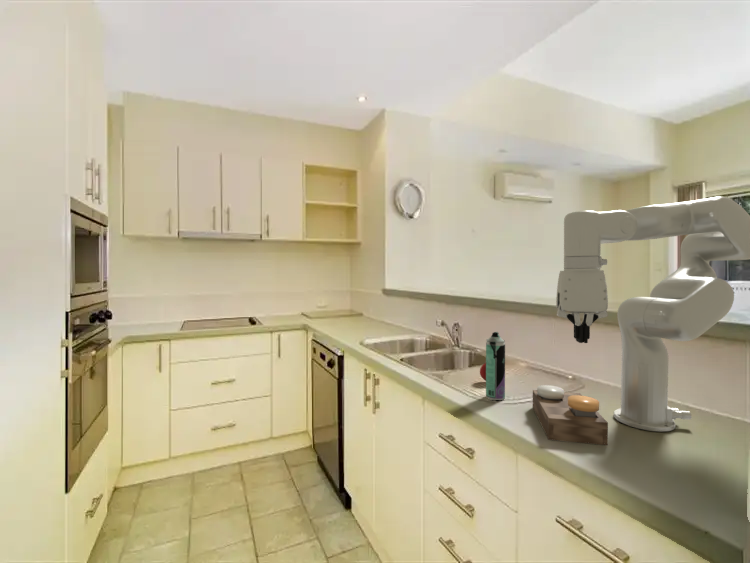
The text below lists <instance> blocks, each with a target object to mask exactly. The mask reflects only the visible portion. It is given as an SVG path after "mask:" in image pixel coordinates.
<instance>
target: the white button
mask: <svg viewBox="0 0 750 563" xmlns="http://www.w3.org/2000/svg"><path fill="white" fill-rule="evenodd" d="M536 390H537V394H538V395H539V396H541V398H542V400H556V401H561V399H562V398H564V392H565V390H564V389H563V388H562V387H560V386H556V385H551V384H549V385H548V384H541V385H537V387H536Z"/></svg>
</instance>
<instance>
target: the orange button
mask: <svg viewBox="0 0 750 563" xmlns="http://www.w3.org/2000/svg"><path fill="white" fill-rule="evenodd" d="M568 406H569V407H571V412H572V413H573V415H574V416H580V417H593V418H596V411H597V412H598V411H599V410H600V401H599V400H598V399H596V398H593V397H591V396H586V395H582V396H580V395H573V396H569V397H568Z"/></svg>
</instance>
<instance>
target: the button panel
mask: <svg viewBox="0 0 750 563" xmlns="http://www.w3.org/2000/svg"><path fill="white" fill-rule="evenodd" d="M573 395H580V396H583V395H582V394H581V393H580V392H567V391H566V392H565V391H564V398H562V399H561V401H556V400H542V398H541V396H539V395H538V394H537V389H536V390H535V389H532V409H533V411H534V413H535V415H536V418H537V420H538V421H539V424H540V425H541V427H542V429H543V431H544V433H545V435H546V437H547V439H548V440H549V441H557V440H558V441H560V442H568V443H569V442H570V443H580V444H590V445H591V444H592V445H602V446H603V445H604V446H608V444H609V442H608V441H609V440H608V439H609V423H608V421H607V420H606V419H605V417H603V416H602V414H600V412H598V411H596V418H593V417H580V416H574V415H573V413H572V412H571V407H569V406H568V397H569V396H573Z"/></svg>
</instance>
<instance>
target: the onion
mask: <svg viewBox="0 0 750 563" xmlns="http://www.w3.org/2000/svg"><path fill="white" fill-rule="evenodd" d="M479 375H480V377H481V378H482V379H483V380H484V382H486V362H485V363H483V364H482V365H481V367H480V369H479Z"/></svg>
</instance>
